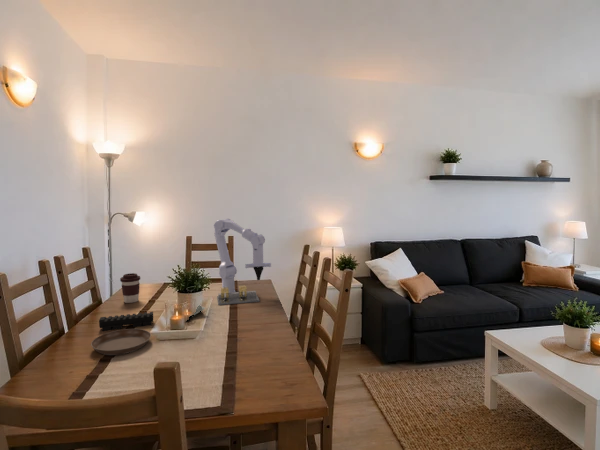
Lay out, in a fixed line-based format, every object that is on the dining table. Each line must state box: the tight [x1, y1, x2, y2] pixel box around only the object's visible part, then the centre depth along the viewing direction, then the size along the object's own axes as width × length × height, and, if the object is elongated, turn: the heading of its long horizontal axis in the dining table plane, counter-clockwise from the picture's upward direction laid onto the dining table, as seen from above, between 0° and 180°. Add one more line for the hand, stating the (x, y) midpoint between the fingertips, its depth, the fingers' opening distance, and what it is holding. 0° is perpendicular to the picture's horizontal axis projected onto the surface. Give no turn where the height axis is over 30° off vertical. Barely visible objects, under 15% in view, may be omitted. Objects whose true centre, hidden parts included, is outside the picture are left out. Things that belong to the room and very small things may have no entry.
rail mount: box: [98, 311, 154, 332], centre depth 158 cm, size 21×6×5 cm, turn 110°
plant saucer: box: [90, 328, 152, 356], centre depth 136 cm, size 21×21×3 cm
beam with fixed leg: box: [217, 287, 257, 301], centre depth 197 cm, size 8×21×5 cm, turn 105°
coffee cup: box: [119, 272, 141, 304], centre depth 194 cm, size 10×10×15 cm
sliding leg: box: [238, 285, 248, 298], centre depth 198 cm, size 8×4×5 cm, turn 15°
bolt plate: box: [216, 294, 260, 306], centre depth 197 cm, size 14×22×1 cm, turn 105°
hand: (258, 279), depth 202 cm, fingers closed
